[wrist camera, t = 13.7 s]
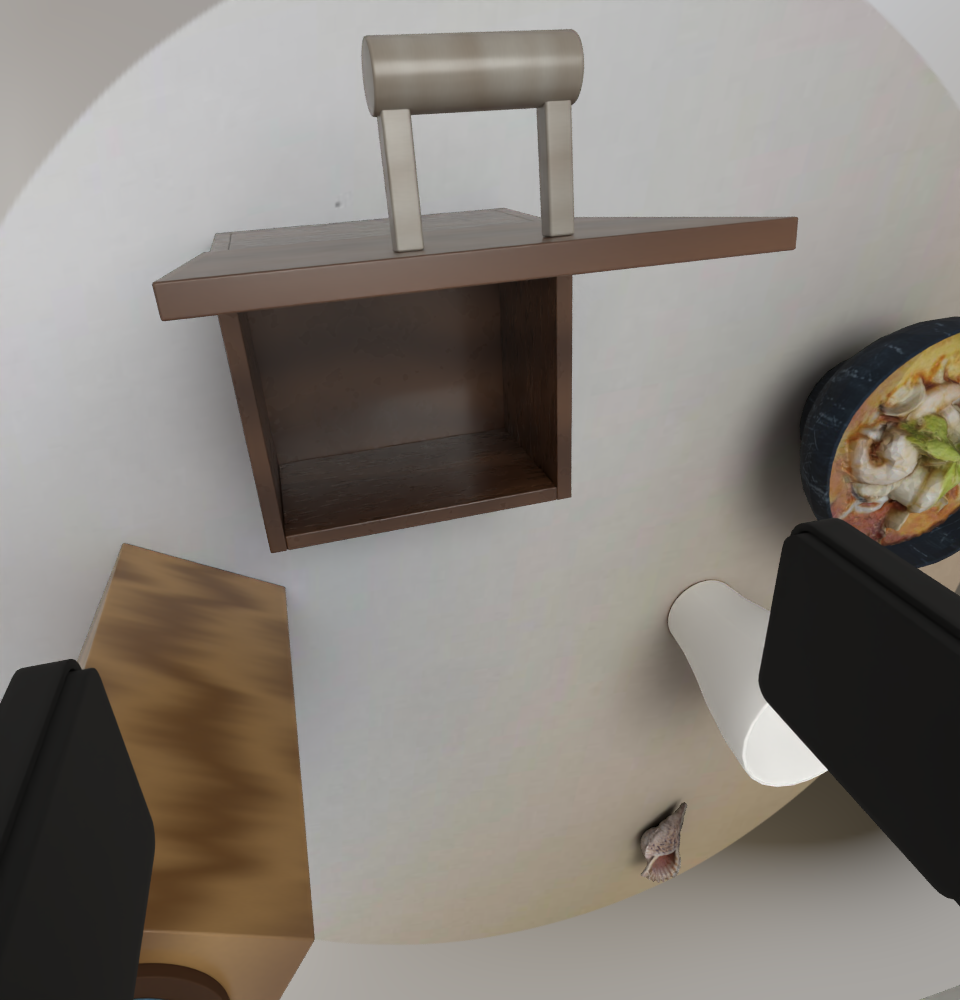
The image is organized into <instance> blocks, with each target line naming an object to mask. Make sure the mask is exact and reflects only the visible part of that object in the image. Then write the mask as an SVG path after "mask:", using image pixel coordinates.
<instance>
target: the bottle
mask: <svg viewBox="0 0 960 1000" xmlns="http://www.w3.org/2000/svg"><path fill="white" fill-rule="evenodd" d="M133 1000H164V999H153V998H140V999H133Z"/></svg>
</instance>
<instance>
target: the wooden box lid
mask: <svg viewBox="0 0 960 1000" xmlns="http://www.w3.org/2000/svg"><path fill="white" fill-rule="evenodd" d="M361 56H362V74H363V83H364V90H365V96H366V101H367V106H368V109H369V112H370V114H371V115H372V116H373V117H377V122H378V131H379V139H380V147H381V156H382V164H383V173H384V181H385V189H386V198H387V206H388V215H389V223H390V231H391V235H382V236H371V237H360V238H350V239H339V240H328V241H318V242H307V243H297V244H286V245H275V246H265V247H254V248H243V249H233V250H222V251H211V252H204V253H202V254H200V255H198V256H197V257H195V258H193V259H192V260H190V261H188V262H187V263H185V264H183V265H182V266H180V267H178V268H177V269H175V270H173V271H172V272H170V273H168V274H167V275H165V276H163V277H162V278H160V279H158V280H157V281H155V282H153V284H152V286H153V290H154V294H155V298H156V302H157V306H158V310H159V314H160V318H161V320H162V321H170V320H178V319H187V318H196V317H205V316H214V315H223V314H231V313H240V312H249V311H258V310H267V309H276V308H284V307H293V306H302V305H311V304H320V303H329V302H337V301H346V300H355V299H364V298H373V297H382V296H390V295H399V294H408V293H417V292H426V291H434V290H443V289H452V288H461V287H470V286H479V285H487V284H496V283H505V282H514V281H523V280H532V279H540V278H549V277H558V276H567V275H576V274H585V273H593V272H602V271H611V270H620V269H629V268H637V267H646V266H655V265H664V264H673V263H682V262H690V261H699V260H708V259H717V258H726V257H735V256H743V255H752V254H761V253H770V252H779V251H788V250H794V249H795V248H796V237H797V225H798V218H797V217H574V197H573V157H572V118H571V105H572V104H574V103H575V102H576V100H577V99H578V96H579V94H580V91H581V87H582V82H583V74H584V55H583V48H582V43H581V40H580V37H579V35H578V34H577V32H576V31H574V30H572V29H564V30H531V31H499V32H466V33H434V34H401V35H368V36H365V37H364V38H363V41H362V51H361ZM526 108H537V130H538V153H539V177H540V201H541V221H531V222H520V223H509V224H499V225H488V226H477V227H467V228H456V229H445V230H435V231H424V232H423V230H422V220H421V211H420V201H419V191H418V181H417V172H416V162H415V152H414V142H413V133H412V123H411V115H420V114H437V113H455V112H473V111H491V110H508V109H526Z"/></svg>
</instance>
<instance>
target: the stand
mask: <svg viewBox="0 0 960 1000" xmlns="http://www.w3.org/2000/svg"><path fill="white" fill-rule="evenodd" d="M77 662H78V663H79V665H80V667H81V669H87V668H95V669H96V670H97V671H98V673H99V675H100V677H101V680H102V682H103V685H104V688H105V691H106V693H107V696H108V699H109V702H110V705H111V707H112V710H113V713H114V716H115V718H116V721H117V724H118V727H119V729H120V732H121V735H122V738H123V740H124V743H125V746H126V749H127V751H128V754H129V757H130V760H131V762H132V765H133V768H134V771H135V774H136V776H137V779H138V782H139V785H140V787H141V790H142V793H143V796H144V798H145V801H146V804H147V807H148V809H149V812H150V815H151V818H152V821H153V825H154V831H155V855H154V861H153V868H152V875H151V882H150V889H149V896H148V903H147V910H146V916H145V923H144V930H143V937H142V944H141V951H140V958H139V964H145V963H161V964H174V965H179V966H185V967H189V968H192V969H196V970H198V971H201V972H203V973H205V974H207V975H209V976H211V977H212V978H214V979H215V980H216V981H217V982H219V983H220V984H221V985H222V986H223V988H224V989H225V990H226V992H227V994H228V996H229V999H230V1000H280V998H281V996H282V995H283V993H284V991H285V989H286V988H287V986H288V984H289V983H290V981H291V979H292V978H293V976H294V974H295V973H296V971H297V969H298V967H299V966H300V964H301V962H302V961H303V959H304V957H305V955H306V954H307V952H308V950H309V948H310V947H311V945H312V943H313V942H314V939H315V937H314V925H313V913H312V901H311V889H310V878H309V866H308V854H307V842H306V830H305V818H304V806H303V794H302V782H301V771H300V759H299V747H298V735H297V723H296V711H295V699H294V687H293V676H292V664H291V652H290V640H289V628H288V616H287V604H286V592H285V587H282V586H279V585H275V584H271V583H268V582H264V581H260V580H257V579H253V578H249V577H246V576H242V575H239V574H235V573H231V572H228V571H224V570H220V569H217V568H213V567H209V566H206V565H202V564H198V563H195V562H191V561H187V560H184V559H180V558H177V557H173V556H169V555H166V554H162V553H158V552H155V551H151V550H147V549H144V548H140V547H136V546H133V545H129V544H125V543H123V544H122V547H121V549H120V552H119V554H118V557H117V559H116V562H115V565H114V567H113V570H112V572H111V575H110V578H109V580H108V583H107V585H106V588H105V590H104V593H103V596H102V598H101V601H100V603H99V606H98V608H97V611H96V614H95V616H94V619H93V621H92V624H91V626H90V629H89V632H88V634H87V637H86V639H85V642H84V645H83V647H82V650H81V652H80V655H79V657H78V660H77Z"/></svg>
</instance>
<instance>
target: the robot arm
mask: <svg viewBox="0 0 960 1000" xmlns="http://www.w3.org/2000/svg"><path fill="white" fill-rule="evenodd" d="M758 682H759V687H760V691H761V693H762V695H763V697H764V699H765V700H766V702H767V703H768V704H769V705H770V706H771V707H772V709H773V710H774V711H775V712H776V713H777V714H778V715H779V716H780V717H781V719H782V720H783V721H784V722H785V723H786V724H787V725H788V726H789V727H790V729H791V730H792V731H793V732H794V733H795V734H796V735H797V736H798V737H799V739H800V740H801V741H802V742H803V743H804V744H805V745H806V746H807V747H808V749H809V750H810V751H811V752H812V753H813V754H814V755H815V756H816V757H817V759H818V760H819V761H820V762H821V763H822V764H823V765H824V766H825V767H826V769H827V770H828V771H829V772H830V773H831V774H832V775H833V776H834V777H835V778H836V780H837V781H838V782H839V783H840V784H841V785H842V786H843V787H844V788H845V790H846V791H847V792H848V793H849V794H850V795H851V796H852V797H853V798H854V800H855V801H856V802H857V803H858V804H859V805H860V806H861V807H862V809H864V811H865V812H866V813H867V814H868V815H869V816H870V817H871V819H872V820H873V821H874V822H875V823H876V824H877V825H878V826H879V827H880V829H882V831H883V832H884V833H885V834H886V835H887V836H888V837H889V839H890V840H891V841H892V842H893V843H894V844H895V845H896V846H897V847H898V848H899V850H900V851H901V852H902V853H903V854H904V855H905V856H906V857H907V859H908V860H909V861H910V862H911V863H912V864H913V865H914V866H915V867H916V868H917V870H918V871H919V872H920V873H921V874H922V875H923V876H924V877H925V879H926V880H927V881H928V882H929V883H930V884H931V885H932V886H933V887H934V888H935V889H936V890H937V891H938V892H939V893H940V894H942V895H943V896H945V897H947V898H950V899H954V900H955V901H956V902H957V903H958V905H959V906H960V596H959V595H957V594H956V593H954V592H953V591H951V590H950V589H948V588H946V587H945V586H943V585H942V584H940V583H939V582H937V581H936V580H934V579H933V578H931V577H930V576H928V575H927V574H925V573H924V572H922V571H920V570H919V569H917V568H916V567H914V566H913V565H911V564H910V563H908V562H907V561H905V560H904V559H902V558H901V557H899V556H898V555H896V554H894V553H893V552H891V551H890V550H888V549H887V548H885V547H884V546H882V545H881V544H879V543H878V542H876V541H875V540H873V539H872V538H870V537H869V536H867V535H865V534H864V533H862V532H861V531H859V530H858V529H856V528H855V527H853V526H852V525H850V524H849V523H847V522H846V521H844V520H841V519H839V518H829V519H823V520H818V521H813V522H807V523H802V524H799V525H797V526H796V527H795V528H794V529H793V530H792V532H791V535H790V536H789V537H787V538H786V540H785V541H784V544H783V547H782V552H781V558H780V563H779V568H778V574H777V579H776V585H775V590H774V595H773V601H772V606H771V611H770V617H769V622H768V628H767V633H766V638H765V644H764V649H763V654H762V660H761V665H760V671H759V677H758ZM154 855H155V831H154V825H153V821H152V818H151V815H150V812H149V809H148V807H147V804H146V801H145V798H144V796H143V793H142V790H141V787H140V785H139V782H138V779H137V776H136V774H135V771H134V768H133V765H132V762H131V760H130V757H129V754H128V751H127V749H126V746H125V743H124V740H123V738H122V735H121V732H120V729H119V727H118V724H117V721H116V718H115V716H114V713H113V710H112V707H111V705H110V702H109V699H108V696H107V693H106V691H105V688H104V685H103V682H102V680H101V677H100V675H99V673H98V671H97V670H96V669H95V668H87V669H81V667H80V665H79V663H78V662H77V661H76V660H73V659H68V660H63V661H58V662H52V663H47V664H42V665H36V666H31V667H25V668H21V669H19V670H17V671H16V672H15V674H14V675H13V677H12V679H11V681H10V683H9V686H8V688H7V690H6V692H5V694H4V697H3V699H2V701H1V703H0V1000H133V999H134V992H135V985H136V978H137V971H138V964H139V958H140V951H141V944H142V937H143V930H144V923H145V916H146V910H147V903H148V896H149V889H150V882H151V875H152V868H153V861H154ZM921 1000H960V985H959V986H956V987H954V988H951V989H948V990H945V991H943V992H940V993H937V994H935V995H932V996H929V997H926V998H923V999H921Z"/></svg>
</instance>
